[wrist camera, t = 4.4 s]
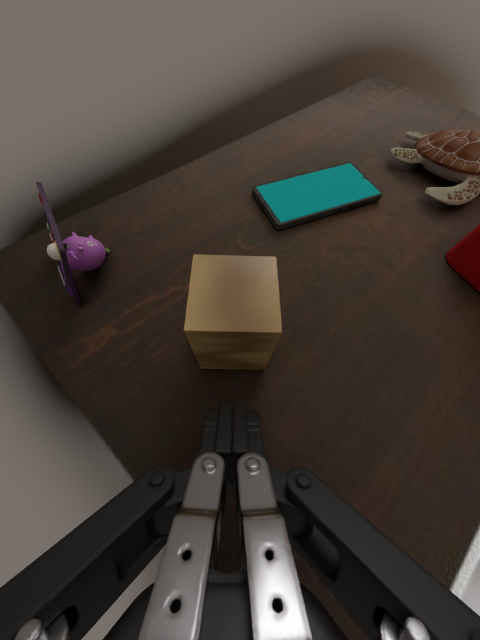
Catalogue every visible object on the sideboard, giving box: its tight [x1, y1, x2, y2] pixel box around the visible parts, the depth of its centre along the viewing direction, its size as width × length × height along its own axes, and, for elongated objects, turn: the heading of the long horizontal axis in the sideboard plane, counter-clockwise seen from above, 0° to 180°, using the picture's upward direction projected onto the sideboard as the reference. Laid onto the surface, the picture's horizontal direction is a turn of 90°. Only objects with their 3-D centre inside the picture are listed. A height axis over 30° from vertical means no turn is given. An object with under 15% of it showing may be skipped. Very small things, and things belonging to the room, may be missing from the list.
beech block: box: [184, 255, 282, 370], centre depth 18 cm, size 6×6×8 cm
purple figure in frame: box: [36, 182, 110, 305], centre depth 23 cm, size 7×5×9 cm
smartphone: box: [252, 162, 383, 230], centre depth 30 cm, size 7×1×15 cm
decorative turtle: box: [390, 129, 480, 205], centre depth 32 cm, size 18×17×5 cm
